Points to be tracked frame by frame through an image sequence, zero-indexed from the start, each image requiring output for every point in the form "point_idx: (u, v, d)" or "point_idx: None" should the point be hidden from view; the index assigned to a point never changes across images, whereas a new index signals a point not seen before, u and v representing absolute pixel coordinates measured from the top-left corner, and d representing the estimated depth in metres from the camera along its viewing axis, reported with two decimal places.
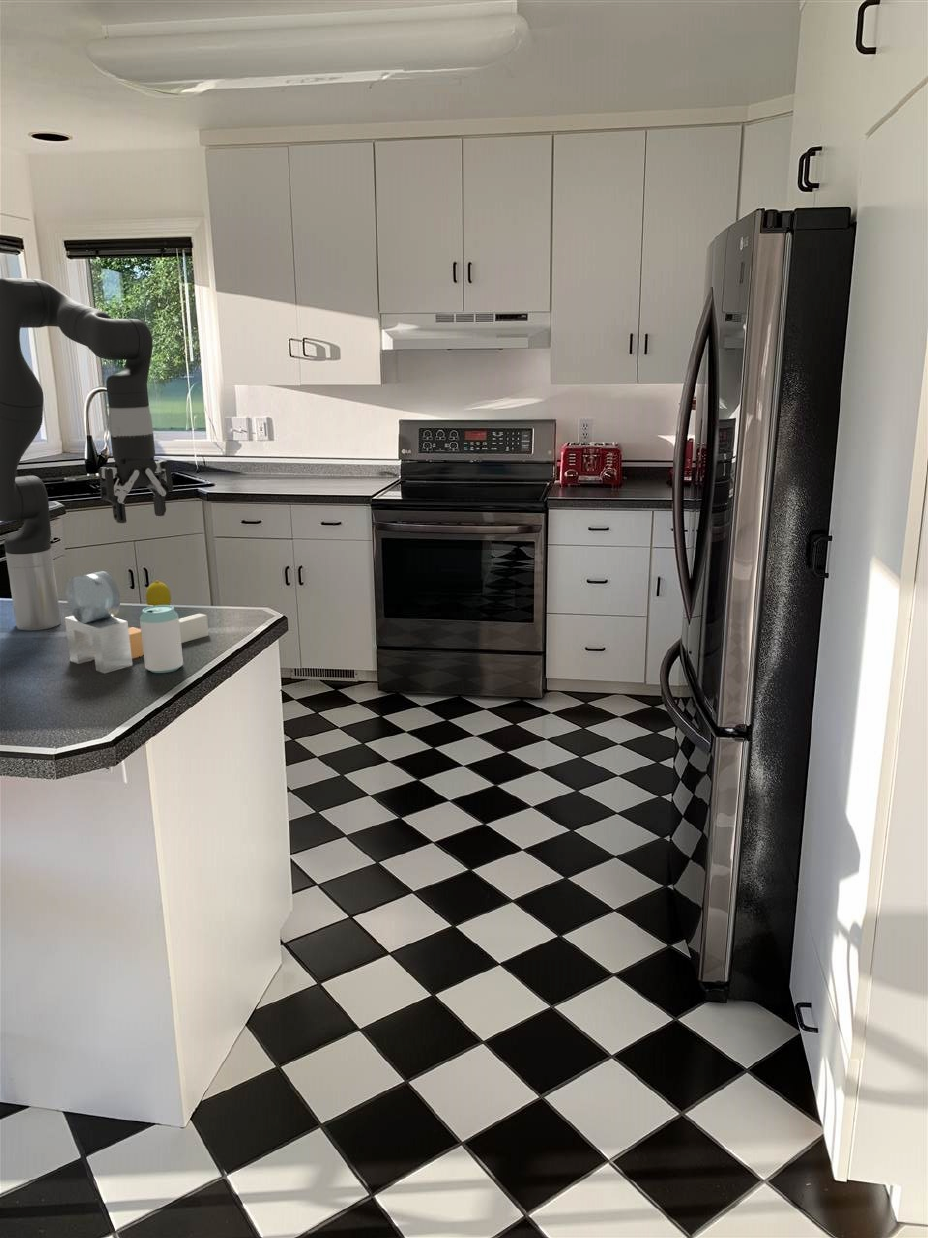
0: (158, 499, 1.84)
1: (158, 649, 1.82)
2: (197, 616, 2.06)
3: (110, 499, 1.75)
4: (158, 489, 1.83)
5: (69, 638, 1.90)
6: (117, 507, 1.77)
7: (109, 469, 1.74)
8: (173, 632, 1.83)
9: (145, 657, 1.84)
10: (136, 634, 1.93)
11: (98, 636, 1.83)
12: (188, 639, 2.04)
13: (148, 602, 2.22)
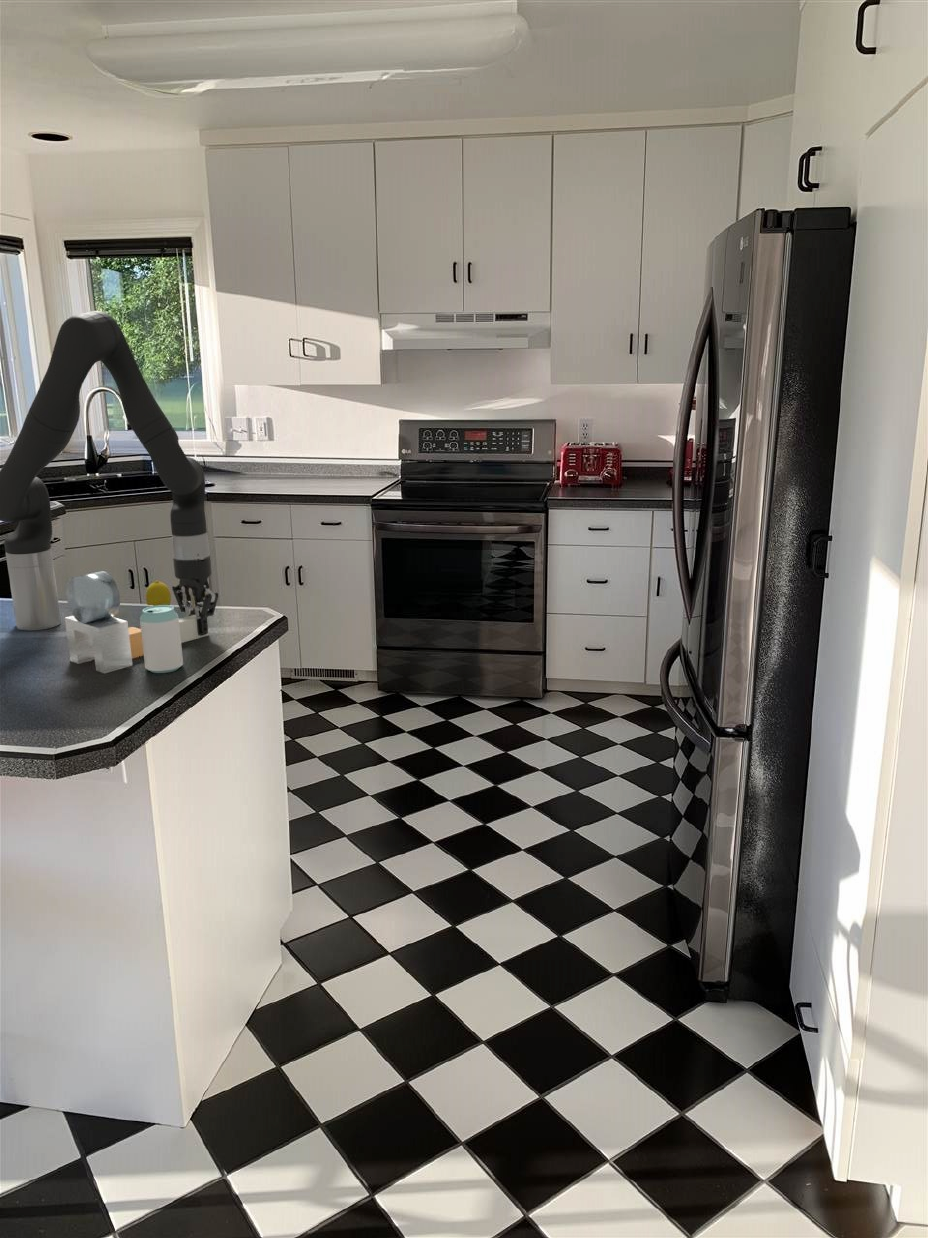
0: None
1: (158, 649, 1.82)
2: None
3: (212, 613, 2.05)
4: None
5: (69, 638, 1.90)
6: None
7: None
8: (173, 632, 1.83)
9: (145, 657, 1.84)
10: (136, 634, 1.93)
11: (98, 636, 1.83)
12: (188, 638, 2.04)
13: (148, 602, 2.22)
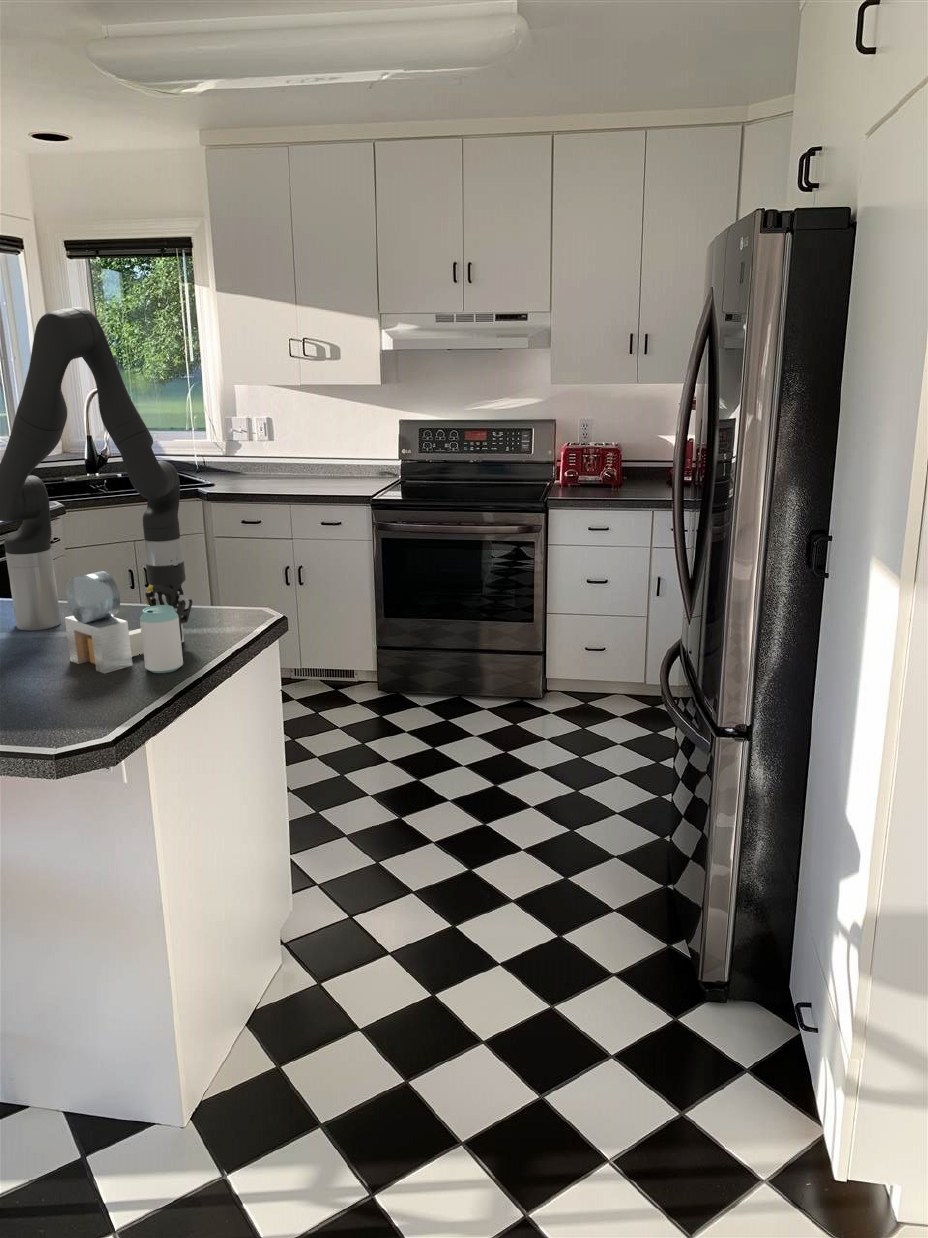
0: None
1: (158, 649, 1.82)
2: None
3: None
4: None
5: (69, 638, 1.90)
6: None
7: (191, 600, 1.97)
8: (173, 632, 1.83)
9: (145, 657, 1.84)
10: None
11: (98, 636, 1.83)
12: None
13: None
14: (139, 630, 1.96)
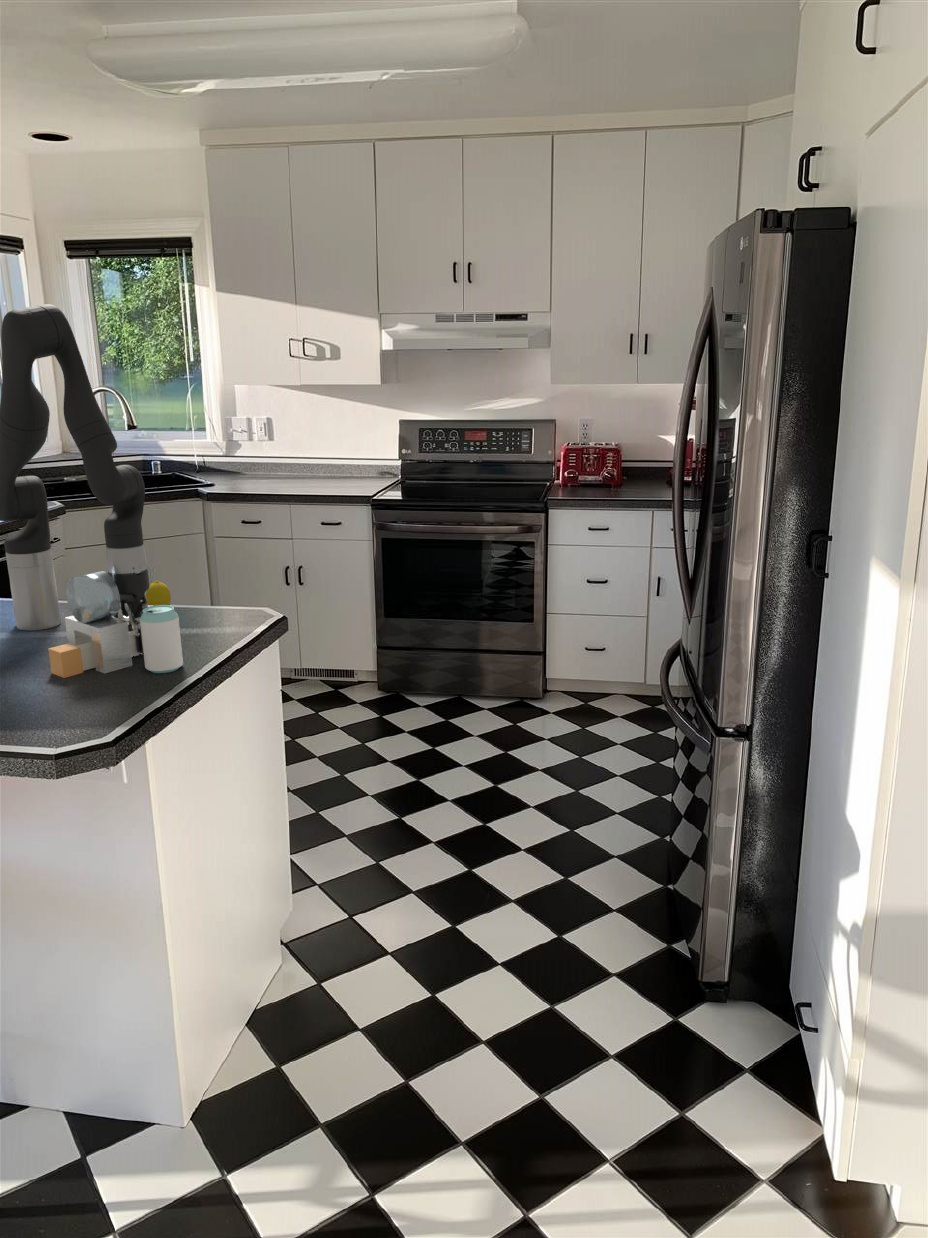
0: None
1: (158, 649, 1.82)
2: None
3: None
4: None
5: (69, 638, 1.90)
6: None
7: None
8: (173, 632, 1.83)
9: (145, 657, 1.84)
10: (70, 652, 1.83)
11: (98, 636, 1.83)
12: None
13: (148, 602, 2.22)
14: None
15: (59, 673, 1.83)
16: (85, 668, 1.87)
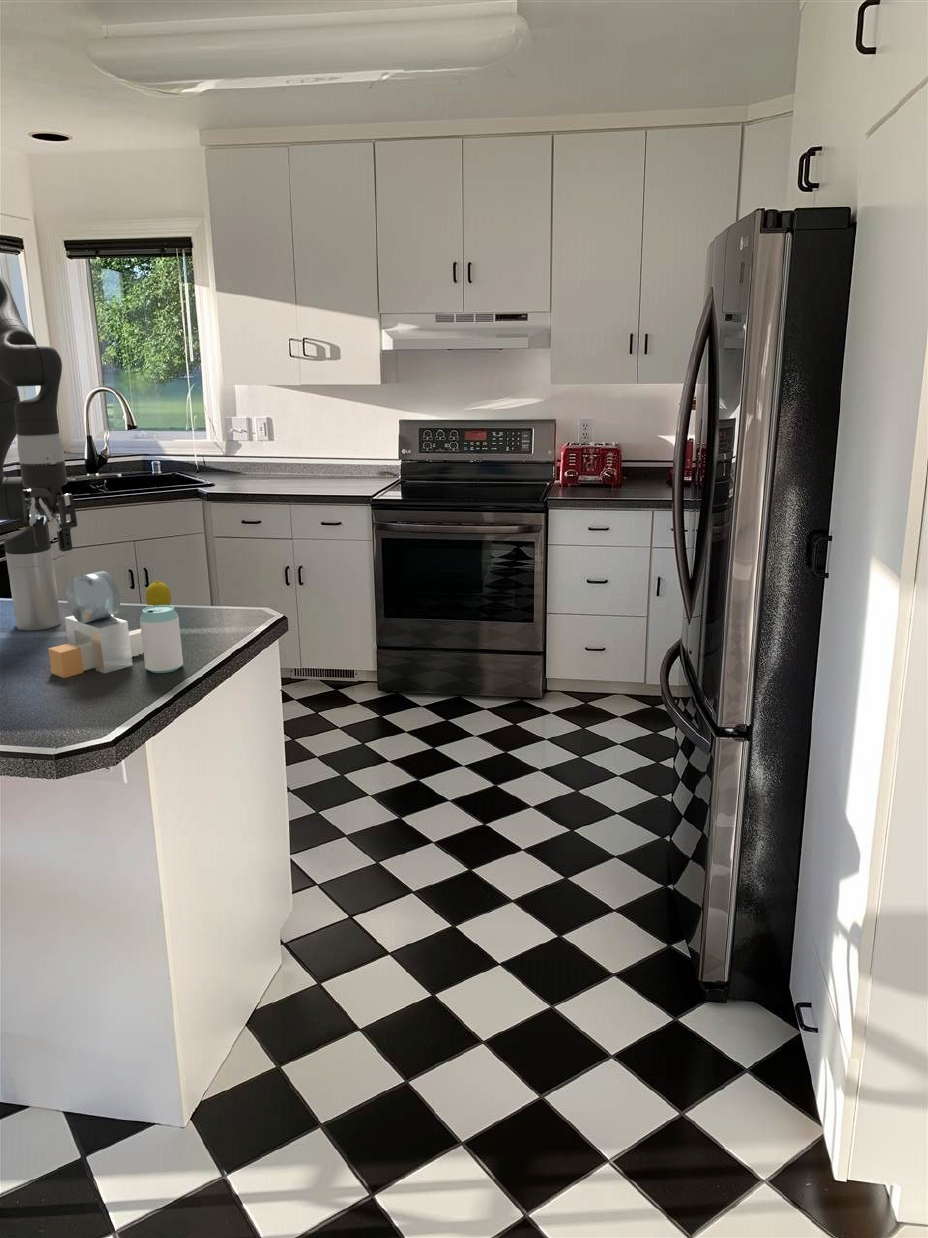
0: (43, 527, 1.81)
1: (158, 649, 1.82)
2: (138, 631, 1.96)
3: None
4: None
5: (69, 638, 1.90)
6: (70, 533, 1.75)
7: (71, 495, 1.73)
8: (173, 632, 1.83)
9: (145, 657, 1.84)
10: (70, 652, 1.83)
11: (98, 636, 1.83)
12: None
13: (148, 602, 2.22)
14: None
15: (59, 673, 1.83)
16: (85, 668, 1.87)
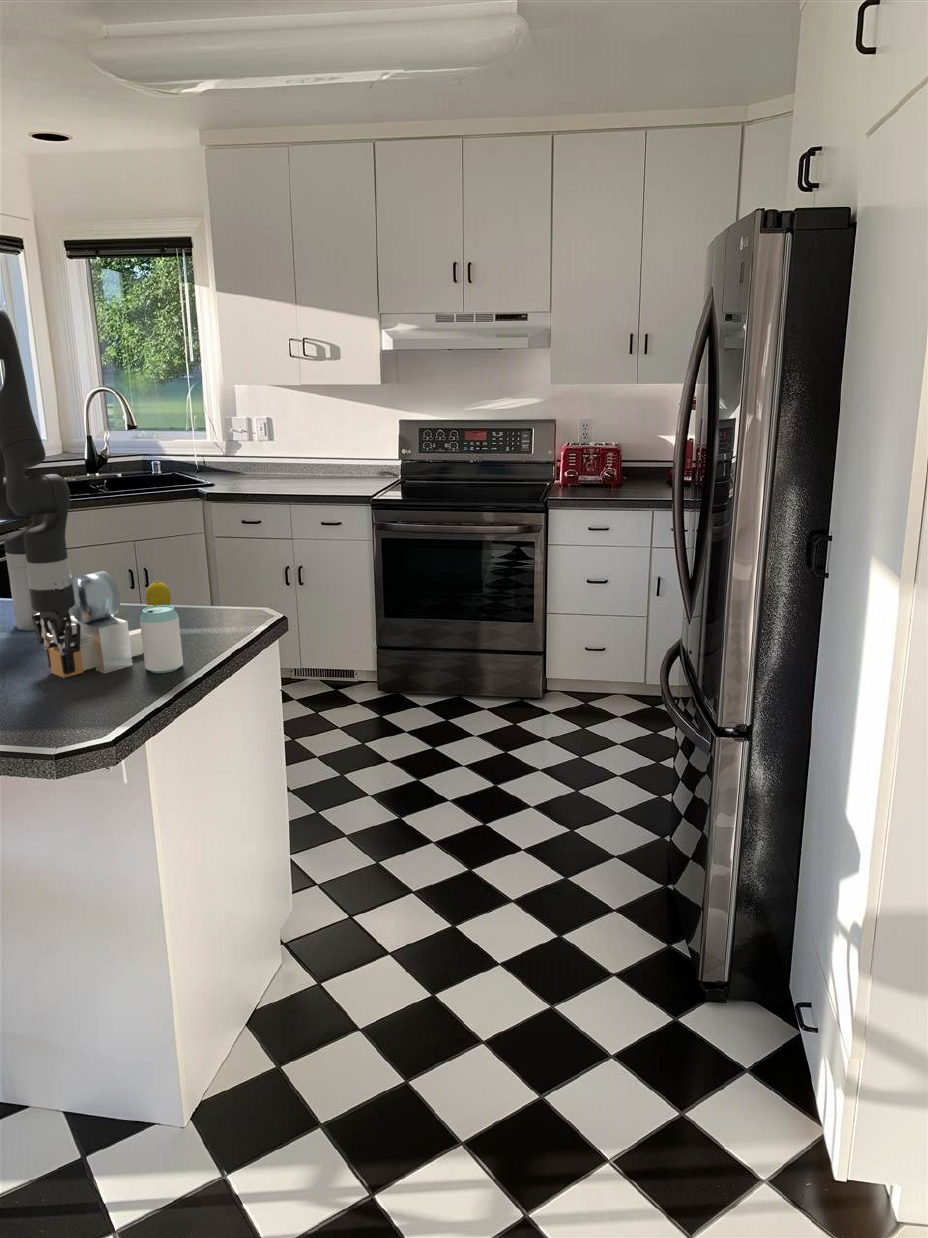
0: None
1: (158, 649, 1.82)
2: (139, 631, 1.95)
3: None
4: None
5: None
6: (73, 657, 1.82)
7: None
8: (173, 632, 1.83)
9: (145, 657, 1.84)
10: None
11: (98, 636, 1.83)
12: None
13: (148, 602, 2.22)
14: None
15: (59, 673, 1.83)
16: (85, 668, 1.87)
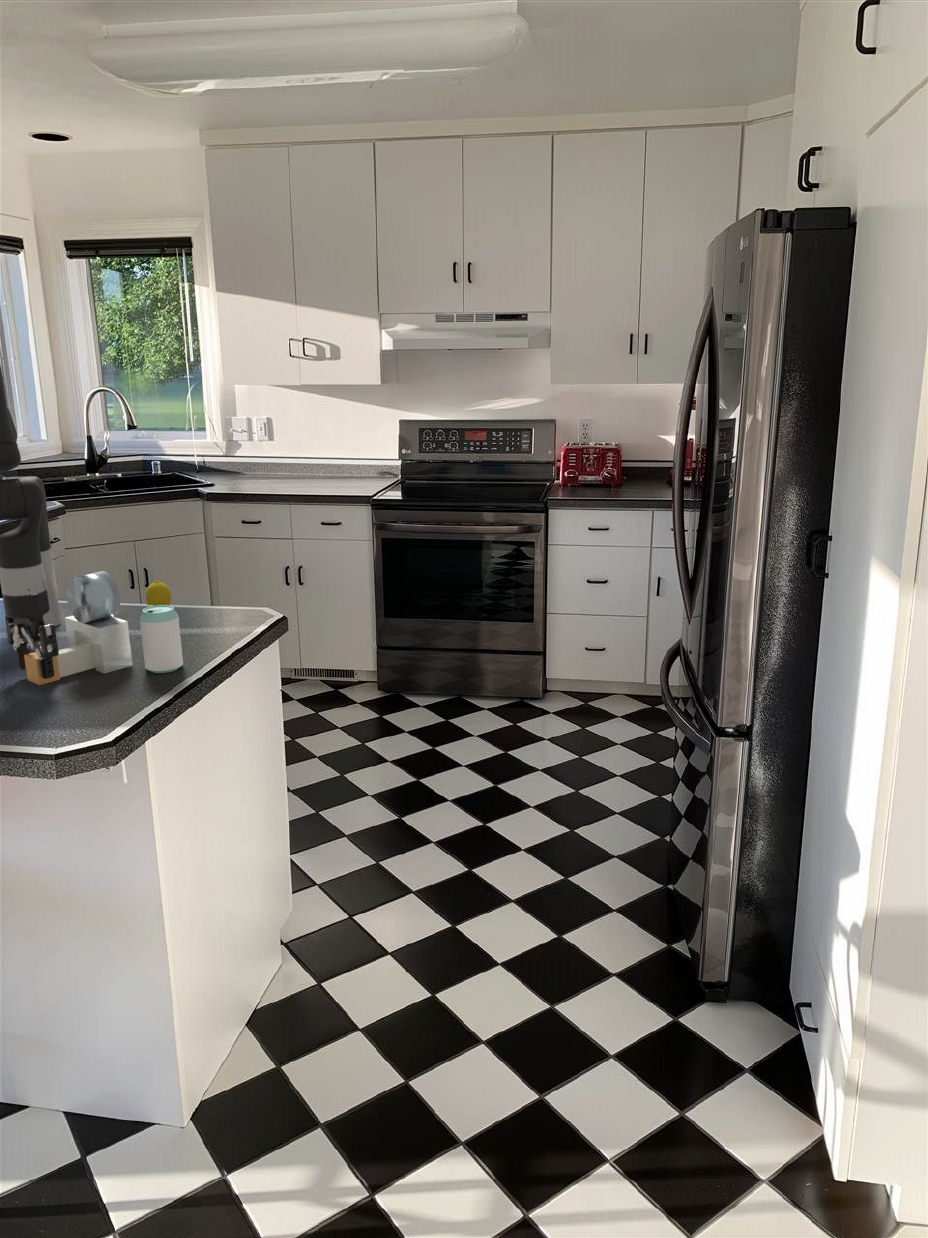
0: (27, 651, 1.83)
1: (158, 649, 1.82)
2: None
3: None
4: None
5: (69, 638, 1.90)
6: (52, 661, 1.77)
7: (53, 625, 1.75)
8: (174, 632, 1.83)
9: (145, 657, 1.84)
10: None
11: (98, 636, 1.83)
12: None
13: (148, 602, 2.22)
14: (81, 646, 1.87)
15: (35, 680, 1.80)
16: (62, 675, 1.83)
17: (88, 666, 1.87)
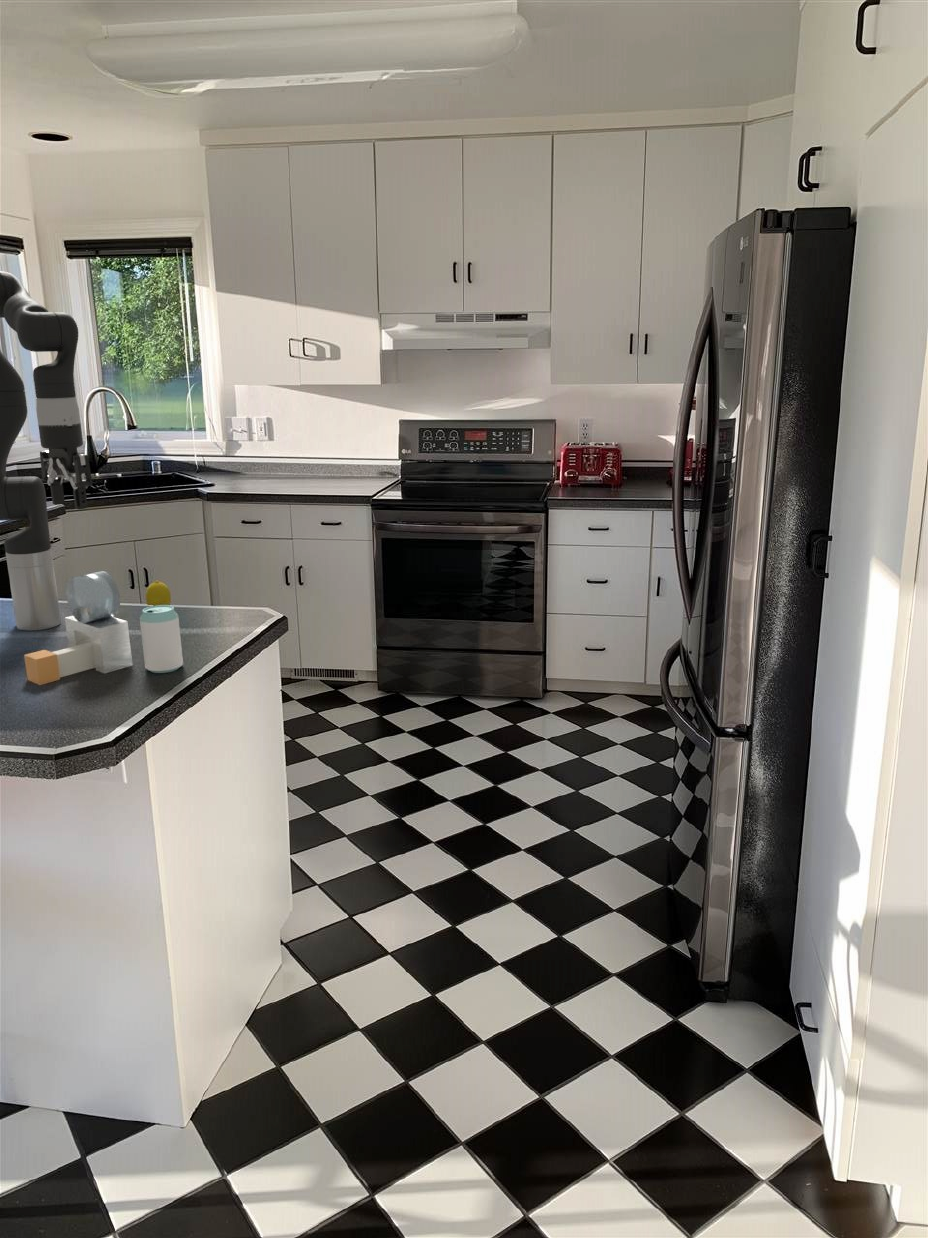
0: (60, 487, 1.91)
1: (158, 649, 1.82)
2: None
3: None
4: None
5: (69, 638, 1.90)
6: (85, 492, 1.85)
7: (86, 455, 1.83)
8: (173, 632, 1.83)
9: (145, 657, 1.84)
10: (46, 658, 1.79)
11: (98, 636, 1.83)
12: None
13: (148, 602, 2.22)
14: (81, 646, 1.87)
15: (35, 680, 1.80)
16: (62, 675, 1.83)
17: (88, 666, 1.87)
